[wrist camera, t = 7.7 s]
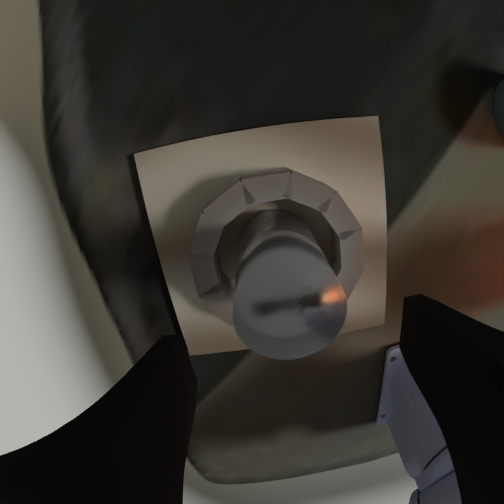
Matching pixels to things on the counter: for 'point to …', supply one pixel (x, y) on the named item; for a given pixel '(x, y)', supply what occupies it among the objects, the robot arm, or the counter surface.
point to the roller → (499, 107)
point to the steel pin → (285, 289)
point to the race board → (260, 199)
